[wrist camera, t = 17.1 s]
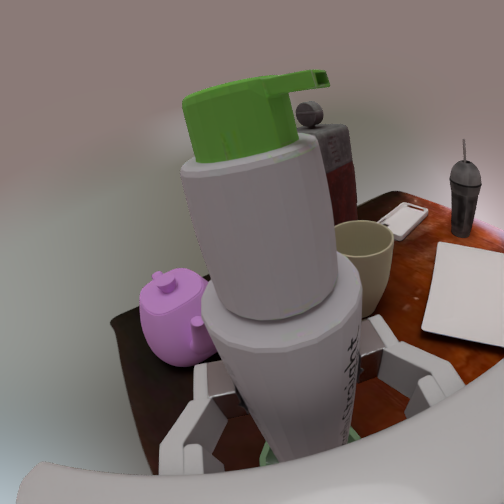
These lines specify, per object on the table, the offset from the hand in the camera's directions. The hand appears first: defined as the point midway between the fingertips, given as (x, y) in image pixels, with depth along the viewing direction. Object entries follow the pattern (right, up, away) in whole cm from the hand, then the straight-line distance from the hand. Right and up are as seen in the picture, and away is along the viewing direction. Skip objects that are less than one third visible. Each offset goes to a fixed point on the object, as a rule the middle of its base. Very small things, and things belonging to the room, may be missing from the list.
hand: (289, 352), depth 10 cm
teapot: (-10, -10, +31) cm, 34 cm away
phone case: (+32, +10, +46) cm, 57 cm away
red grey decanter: (+15, +5, +46) cm, 48 cm away
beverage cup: (+43, +8, +37) cm, 57 cm away
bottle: (+3, -10, +5) cm, 11 cm away
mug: (+15, -4, +30) cm, 34 cm away
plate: (+36, -4, +22) cm, 42 cm away
